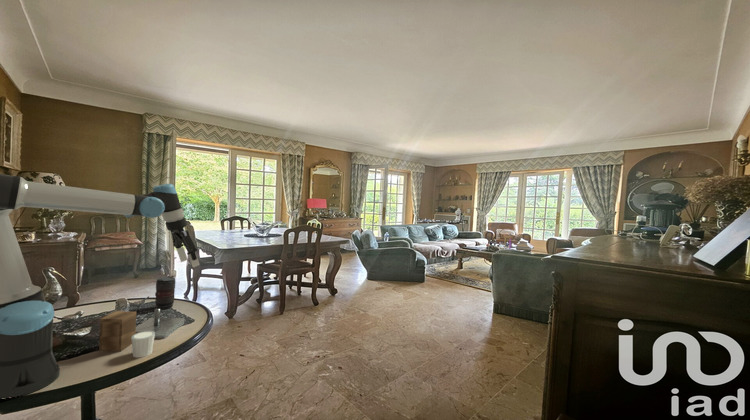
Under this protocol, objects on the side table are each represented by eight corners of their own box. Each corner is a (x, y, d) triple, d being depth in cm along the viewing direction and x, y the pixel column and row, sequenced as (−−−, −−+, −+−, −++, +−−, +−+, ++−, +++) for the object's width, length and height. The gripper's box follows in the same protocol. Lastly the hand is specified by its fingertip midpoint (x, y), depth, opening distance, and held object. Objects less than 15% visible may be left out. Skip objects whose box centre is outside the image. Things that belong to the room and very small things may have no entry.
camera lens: (164, 311, 146) (165, 281, 146) (150, 309, 148) (152, 279, 147) (178, 305, 154) (179, 277, 153) (165, 303, 156) (166, 275, 155)
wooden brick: (99, 351, 108) (100, 318, 107) (114, 341, 115) (115, 311, 115) (120, 351, 108) (122, 319, 108) (135, 341, 116) (136, 311, 115)
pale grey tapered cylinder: (144, 359, 104) (145, 339, 104) (125, 357, 105) (126, 338, 104) (158, 349, 111) (159, 331, 111) (141, 348, 111) (141, 330, 111)
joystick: (128, 337, 118) (129, 314, 118) (151, 323, 132) (151, 302, 132) (165, 338, 120) (166, 315, 120) (184, 323, 134) (184, 303, 134)
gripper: (195, 219, 123) (210, 264, 129) (174, 214, 138) (188, 255, 144) (175, 225, 117) (192, 272, 123) (155, 219, 132) (171, 262, 138)
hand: (190, 263), depth 133 cm, fingers open, 13 cm apart
